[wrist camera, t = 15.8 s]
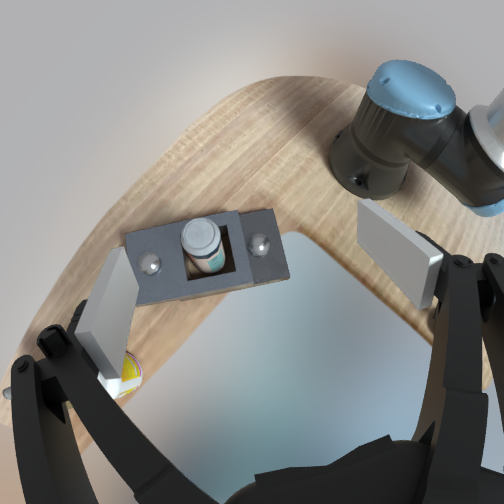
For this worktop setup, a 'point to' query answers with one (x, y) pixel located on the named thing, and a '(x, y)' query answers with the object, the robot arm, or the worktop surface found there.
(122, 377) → the supplement bottle
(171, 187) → the worktop surface
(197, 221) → the beer can
